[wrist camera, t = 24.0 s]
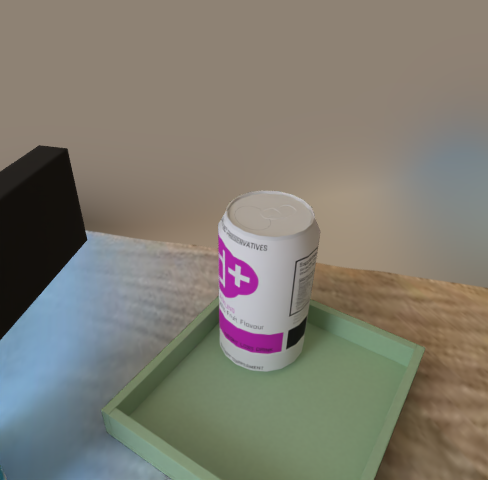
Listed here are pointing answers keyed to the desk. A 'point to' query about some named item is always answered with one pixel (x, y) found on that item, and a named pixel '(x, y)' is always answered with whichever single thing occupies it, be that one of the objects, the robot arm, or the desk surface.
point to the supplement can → (265, 278)
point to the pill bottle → (2, 474)
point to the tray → (268, 404)
